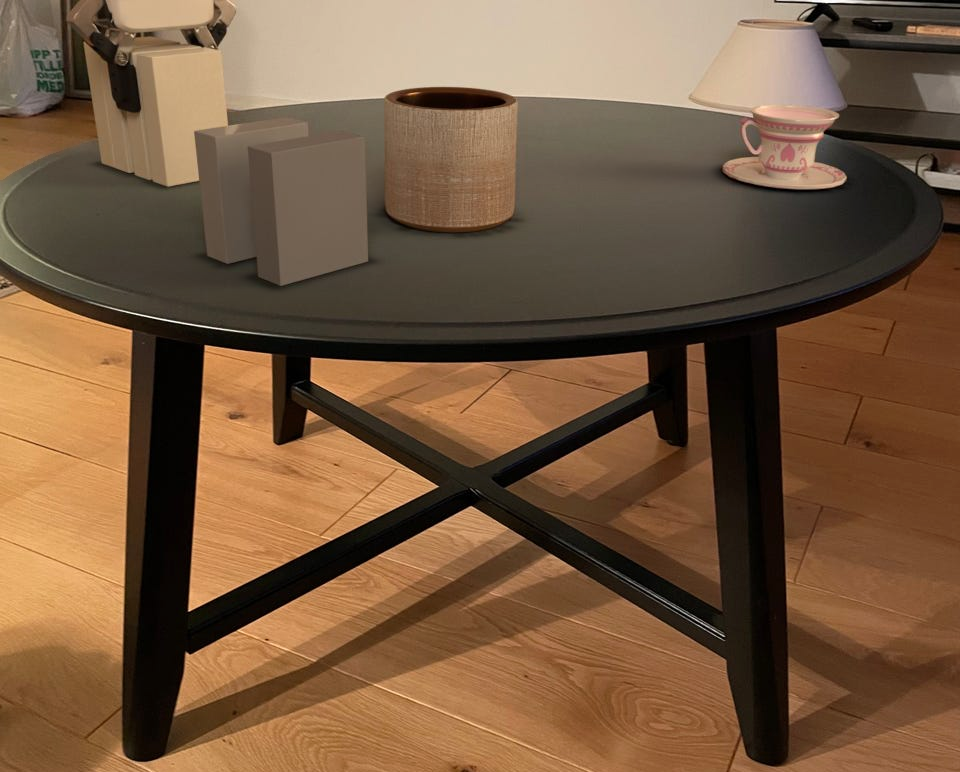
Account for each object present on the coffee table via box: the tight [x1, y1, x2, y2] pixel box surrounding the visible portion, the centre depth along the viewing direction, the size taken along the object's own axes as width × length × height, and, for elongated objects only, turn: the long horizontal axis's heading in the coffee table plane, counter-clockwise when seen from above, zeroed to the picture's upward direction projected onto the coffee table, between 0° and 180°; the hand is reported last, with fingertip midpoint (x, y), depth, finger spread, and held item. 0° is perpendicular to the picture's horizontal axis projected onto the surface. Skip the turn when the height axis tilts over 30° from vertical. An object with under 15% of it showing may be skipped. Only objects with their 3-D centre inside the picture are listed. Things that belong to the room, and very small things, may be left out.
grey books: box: [194, 116, 369, 287], centre depth 74 cm, size 8×9×9 cm
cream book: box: [126, 43, 201, 181], centre depth 95 cm, size 7×2×11 cm, turn 137°
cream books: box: [83, 36, 229, 188], centre depth 95 cm, size 7×12×11 cm, turn 47°
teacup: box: [722, 104, 847, 190], centre depth 101 cm, size 12×12×6 cm
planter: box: [383, 86, 519, 233], centre depth 84 cm, size 11×11×10 cm
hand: (166, 103), depth 94 cm, fingers closed on cream book, 7 cm apart
